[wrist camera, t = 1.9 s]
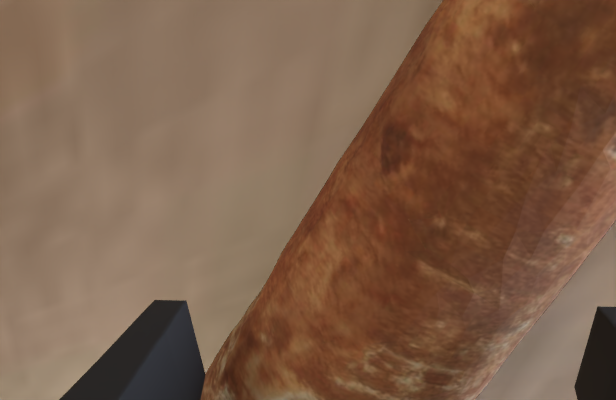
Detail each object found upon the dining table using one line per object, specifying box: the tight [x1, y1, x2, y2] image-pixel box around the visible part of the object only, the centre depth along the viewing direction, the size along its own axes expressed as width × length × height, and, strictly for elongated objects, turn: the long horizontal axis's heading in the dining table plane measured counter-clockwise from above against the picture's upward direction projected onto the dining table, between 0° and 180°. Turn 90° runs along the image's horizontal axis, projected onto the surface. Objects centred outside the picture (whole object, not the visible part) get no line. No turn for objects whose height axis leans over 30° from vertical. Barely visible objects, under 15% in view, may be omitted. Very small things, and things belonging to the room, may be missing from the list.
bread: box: [201, 0, 616, 400], centre depth 12 cm, size 6×19×6 cm, turn 154°
